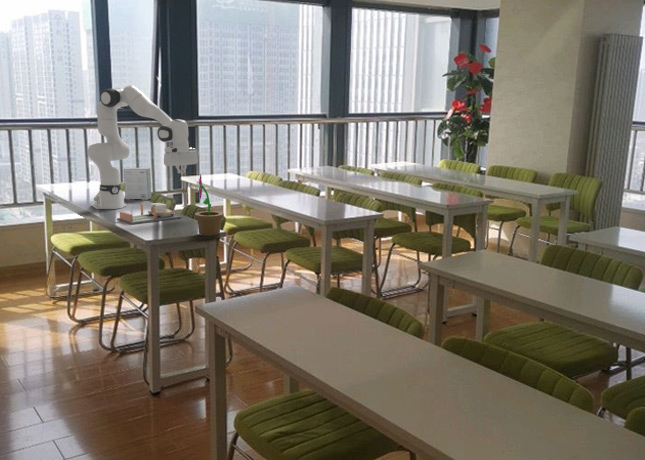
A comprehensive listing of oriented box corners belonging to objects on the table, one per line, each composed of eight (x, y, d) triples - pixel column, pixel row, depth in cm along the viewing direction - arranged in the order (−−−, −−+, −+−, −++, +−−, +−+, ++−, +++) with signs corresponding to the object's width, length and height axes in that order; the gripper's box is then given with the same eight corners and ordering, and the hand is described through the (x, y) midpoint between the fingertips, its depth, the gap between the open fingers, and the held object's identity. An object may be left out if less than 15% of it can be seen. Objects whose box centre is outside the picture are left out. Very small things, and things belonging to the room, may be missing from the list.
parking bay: (118, 218, 388) (117, 205, 387) (142, 215, 397) (142, 202, 396) (131, 222, 376) (131, 209, 375) (156, 219, 386) (156, 206, 385)
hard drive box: (152, 198, 462) (150, 167, 458) (148, 200, 455) (146, 169, 451) (128, 197, 464) (127, 167, 460) (124, 199, 456) (123, 168, 452)
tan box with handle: (148, 214, 396) (147, 197, 395) (165, 212, 404) (165, 195, 402) (156, 217, 389) (156, 199, 387) (174, 215, 396) (174, 198, 394)
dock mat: (117, 219, 388) (116, 218, 388) (165, 213, 408) (165, 212, 408) (131, 224, 376) (131, 222, 376) (181, 218, 395) (181, 216, 395)
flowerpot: (196, 230, 363) (195, 172, 357) (224, 230, 364) (223, 172, 358) (193, 236, 349) (192, 176, 343) (222, 236, 350) (221, 176, 344)
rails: (122, 219, 385) (122, 217, 385) (168, 213, 404) (168, 211, 403) (129, 221, 380) (129, 219, 379) (175, 215, 398) (175, 213, 398)
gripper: (193, 147, 407) (194, 171, 410) (161, 149, 394) (162, 173, 396) (199, 148, 402) (200, 172, 405) (167, 149, 389) (168, 174, 392)
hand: (181, 173), depth 401 cm, fingers closed
